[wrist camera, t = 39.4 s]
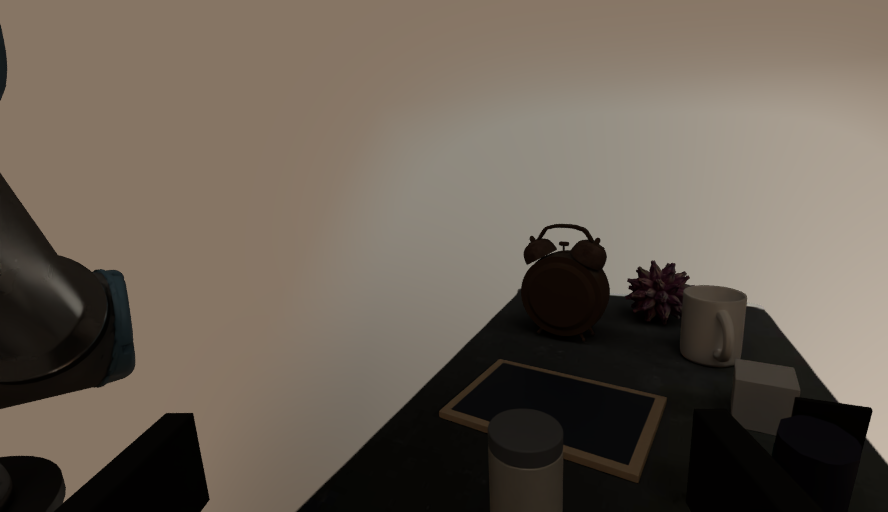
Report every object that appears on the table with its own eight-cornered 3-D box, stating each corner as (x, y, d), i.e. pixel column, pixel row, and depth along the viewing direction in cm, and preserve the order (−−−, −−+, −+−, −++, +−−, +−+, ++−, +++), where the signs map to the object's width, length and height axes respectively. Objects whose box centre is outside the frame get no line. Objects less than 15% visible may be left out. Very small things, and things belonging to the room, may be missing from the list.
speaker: (774, 469, 47) (791, 381, 44) (849, 499, 43) (873, 405, 40) (754, 518, 42) (771, 424, 39) (836, 558, 38) (863, 456, 35)
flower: (629, 316, 94) (695, 308, 90) (632, 336, 83) (707, 329, 79) (619, 261, 93) (685, 250, 88) (620, 274, 82) (695, 263, 77)
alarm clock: (611, 334, 82) (615, 222, 77) (600, 350, 76) (604, 229, 71) (533, 321, 90) (533, 219, 85) (518, 335, 84) (516, 225, 79)
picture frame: (439, 417, 59) (438, 410, 59) (499, 364, 73) (499, 358, 73) (638, 483, 46) (638, 475, 46) (666, 403, 60) (667, 396, 60)
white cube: (730, 425, 55) (735, 379, 53) (730, 401, 60) (734, 358, 58) (794, 439, 52) (800, 390, 50) (788, 412, 57) (794, 367, 55)
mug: (759, 383, 64) (767, 312, 61) (693, 379, 66) (698, 310, 63) (729, 346, 75) (735, 285, 73) (673, 344, 77) (677, 284, 75)
